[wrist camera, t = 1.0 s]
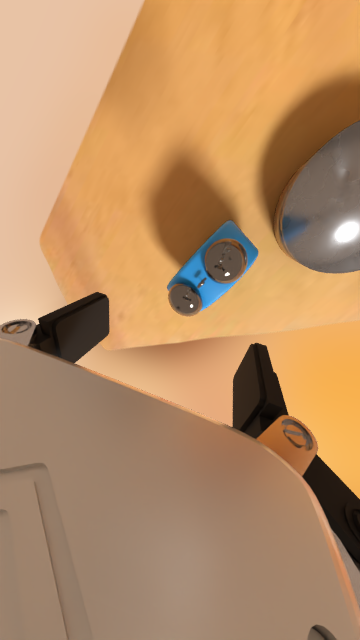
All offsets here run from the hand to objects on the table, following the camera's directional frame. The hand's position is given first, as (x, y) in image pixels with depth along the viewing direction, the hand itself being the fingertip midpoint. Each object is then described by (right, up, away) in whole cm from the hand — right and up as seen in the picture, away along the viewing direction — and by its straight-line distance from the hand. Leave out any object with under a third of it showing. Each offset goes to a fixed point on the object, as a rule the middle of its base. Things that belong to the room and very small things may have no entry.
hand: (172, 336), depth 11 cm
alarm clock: (+7, +12, +21) cm, 25 cm away
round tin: (+22, +17, +13) cm, 31 cm away
